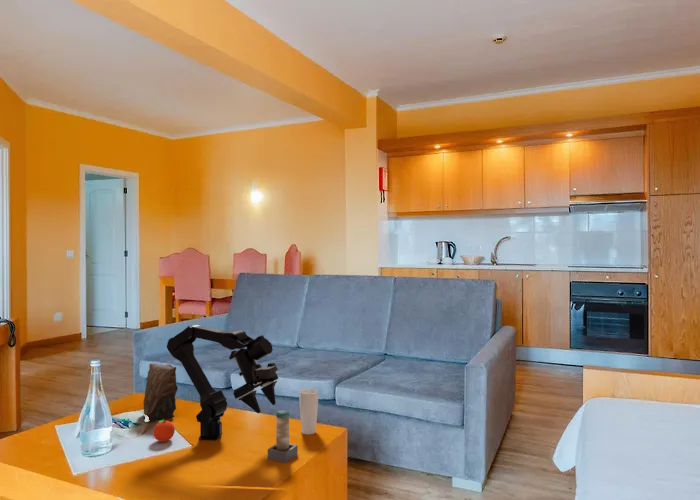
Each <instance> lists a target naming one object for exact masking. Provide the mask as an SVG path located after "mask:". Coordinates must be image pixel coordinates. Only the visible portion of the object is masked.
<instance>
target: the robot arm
mask: <svg viewBox="0 0 700 500" xmlns="http://www.w3.org/2000/svg"><path fill="white" fill-rule="evenodd" d="M197 339H200V340H201V339H202V340H205V341H209V342H215V343H218V344H219V345H221V346H222V347H223V348H225V349H228V350H230V355H229V357H228V360H230V361H231V360H233V359H235V362H236V364H237V365H238V368H239V371H240V372H239V373H238V376H240V377H243V380H244V382H245V384H243V385H241V386H239V387H237V388H235V389H234V390H233V397H234V398H235V400H236V399H238V401H241V402H242V403H244V404H245V405H247V406H248V407H249V408H251V410H253V411H254V412H255V413H257V414H259V413H261V408H260V405H259V403H258V400H257V397H256V395H257V389H256V388H258V387H260V391H261V392H262V393H263V394H264V396H265V397H266V399H267V400H268V401H269V402H270V404H271V405H272V406H274V405H276V403H277V402H276V395H275V394H276V392H275V387H276V384H277V382H278V380H279V376H278V374H277V373H276V372H277V371H278V367H277V365H276V363H275V362H270V363H268V364H267V366H262V365H261V364H260V363H257V362H256V361H259V360H260V359H262V358H265V357H267V356H268V355H270V354H271V353H272V352H273V345H272V342H270V340H269V339H267V338H265V337H264V335H263V334H262V335H259V336H257V337H256V338H255V339H254V338H252V337H251V336H249V335H247V333H246V331H245V330H241V329H237V330H235V329H233V330H222V329H217V328H213V327H210V326H209V327H208V326H204V325H200V324H196V323H195V324H191V325H188V326H187V327H186V328H184V329H183V330H182V331H180V332H179V333H177V334H175V336H173V337H171V338H169V339H168V340H167V343H166V348H167V351H168V352H169V354H170V355H171V356H172V358H173V359H175V360H177V361H179V362H180V363H181V364H182V367H183V368H184V371H185V372H186V374H187V376H188V377H189V380H190V381H191V383H192V384H193V386H194V388H195V390H196V392H197V394H199V397H200V398H199V400H200V401H199V405H200V408H201V410H200V411H199V412H198V413H197V414H196V416H195V418H196V421H197V422H198V423H200V426H199V427H200V428H199V429H200V431H199V432H200V433H199V435H200V436H198V440H207V441H209V440H212V441H213V440H215V441H216V440H218V438H220V437H221V435H222V434H223V422H222V421H221V418H222V417H224V415H225V412H226V411H227V409H228V402H227V399H228V398H226V396H225V395H224V393H223V391H222V390H221V389H219V390H216V389H214V388H213V386H212V385H211V382H210V381H209V379H208V377H207V376H206V374H205V372H204V370H203V368H202V367H201V365H200V363H199V361H198V360H197V358H196V356H195V353H194V351H195V350H194V349H195V347H194V344H193V343H195V341H197ZM255 389H256V390H255Z"/></svg>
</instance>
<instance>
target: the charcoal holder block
mask: <svg viewBox="0 0 700 500" xmlns="http://www.w3.org/2000/svg"><path fill="white" fill-rule="evenodd" d="M298 449H299V448H298V444H294V443H289V450H287V451H286V452H284V451H280V450H276V443H275V444H274V445H272V446H270V447H269V448H267V460H271V461H274V462H275V461H276V462H278V463H279V462H281V463H284V464H287V463H288V462H290V461H291V460H292V459H294V458H296V457H297V456H298V455H299V454H298Z"/></svg>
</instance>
